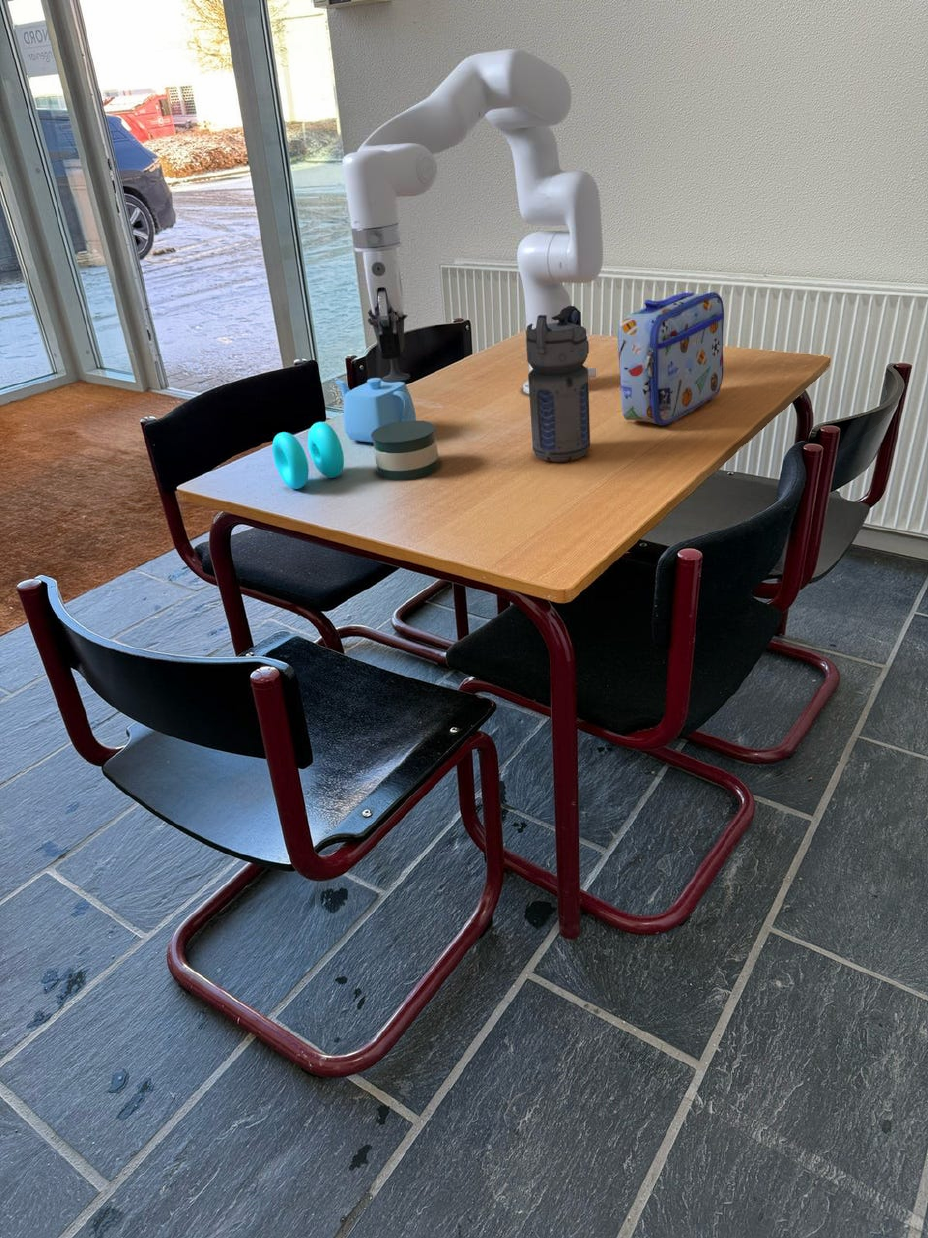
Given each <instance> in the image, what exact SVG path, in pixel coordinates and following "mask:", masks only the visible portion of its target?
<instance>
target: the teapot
mask: <svg viewBox="0 0 928 1238" xmlns="http://www.w3.org/2000/svg"><path fill="white" fill-rule="evenodd" d="M333 383H335V384H336V385H337V386H338V388H339V390H340V392H341V395H342V400H343V401H342V402H343V427H344V432H345V434H346V436H347V437H348V439H349V440H352V441H357V442H360V443H373V439H372V438H371V434H372V432H373V431H374V430H375V429H377V428H379V427H381V426H384V425H387V424H390V423H395V422H400V421H411V420H416V419H417V416H416V411H415V406H414V402H413V398H412V396H411V394H410V393H411V392H410V391H409V389H408V387H407V384H406V383H405V382H404V381H402V382H396V383H386V382H383V381H382V378H380V377H372V378H369V379H367V380H366V382H365V383H363V384H361V385H358V386H356V387H354V388H352V389H350V387H349V386H348V385H347V383H346V382H344V381H343V380H340V379H334V380H333Z"/></svg>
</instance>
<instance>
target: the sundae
mask: <svg viewBox="0 0 928 1238" xmlns="http://www.w3.org/2000/svg"><path fill="white" fill-rule="evenodd" d="M375 309H377V308H376V307H375ZM388 313H392V311H391V310H388ZM367 314H368V316H369V318H368V319H367V322H368V324H369V325H370V326H372V327H373V331H374V334H375V339H376V342H377V346H378V348H379V351H380V352H381V347H380V340H379V326H378V318H377V316H375V315H373V313H372V309H371V308H370V309H369V310H368V312H367ZM394 314H395V323H396V332H398V334H399V341H400V349H401V354H402V352H403V351H404V349H405V348H404V347H405V320H406V319H407V317H408V316H409V315H408V314H404V310H403V311H402V313H401V314H399V313H398V311H397V312H394ZM376 315H377V314H376ZM389 319H391V318H389ZM391 321H392V320H391ZM389 361H390V372H389V374H388V375H385V376H383V377H382V378H381V380H382V381H383V382H386V383H396V382H404V381H407V380H409V379H410V378H411V375H410V373H405V372H404V373H403V372H402V371H401V370H400V368H399V365H398V358H392V359H389Z"/></svg>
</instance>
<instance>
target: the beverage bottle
mask: <svg viewBox="0 0 928 1238" xmlns="http://www.w3.org/2000/svg"><path fill="white" fill-rule="evenodd" d="M546 319H547V315H539V316H538V317H537V324H536V328H534V329H532V325H533V324H530V325H528V326H526V329H525V336H526V337H525V344H526V345H525V347H526V361H527V363H528V365H529V364H530V365H531V367H532V368H533V370H531V372H530V373H529V372H528V374H527V377H528V378H527V379H528V380H527V381H529V394H528V395H529V410H530V411H529V412H530V427H531V443H532V451H533V453H534V455H535V456H536V457H537V458H538V459H540V460H542V461H547V462H552V463H565V462H571V461H575V460H577V459H580V458H583V457H584V456H585V455H587V454H588V452H589V450H590V448H591V426H590V424H591V423H590V390H589V387H590V386H589V378H588V369H587V368H586V367H587V366H585V365H584V363H585V362H586V361H587V358H588V356H589V355H588V354H589V353H590V346H589V345H590V344H589V342H590V341H588V336H587V329H586V328H585V327H584V326H582V311H580V310H579V309H578V308H577V307H576V306H575V305H571V306H568V307H566V308H564V309H562V310H561V312H560V314H558V315H556V316H554V317H552V319H553V320H559V322H558V323H550V324H547V320H546Z"/></svg>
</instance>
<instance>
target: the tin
mask: <svg viewBox="0 0 928 1238" xmlns="http://www.w3.org/2000/svg"><path fill="white" fill-rule="evenodd" d="M436 429H437V428H436V425H435V424H434V423H432V422H429V421H425V420H418V419H417V420H411V421H400V422H395V423H390V424H387V425H384V426H381V427H379V428H377V429H375V430H374V431H373V432H372V434H371V438H372V439H373V442H372V444H373V452H374V457H375V458H374V459H375V463H376V468H377V474H378V476H380V477H381V478H384V479H387V480H390V481H407V480H415V479H419V478H424V477H426V476H428V475H430V474H433V473H434V472H436V471H437V470H438V468H439V467H440V464H439V452H438V451H439V450H438V444H437V443H438V442H437V438H436Z"/></svg>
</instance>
